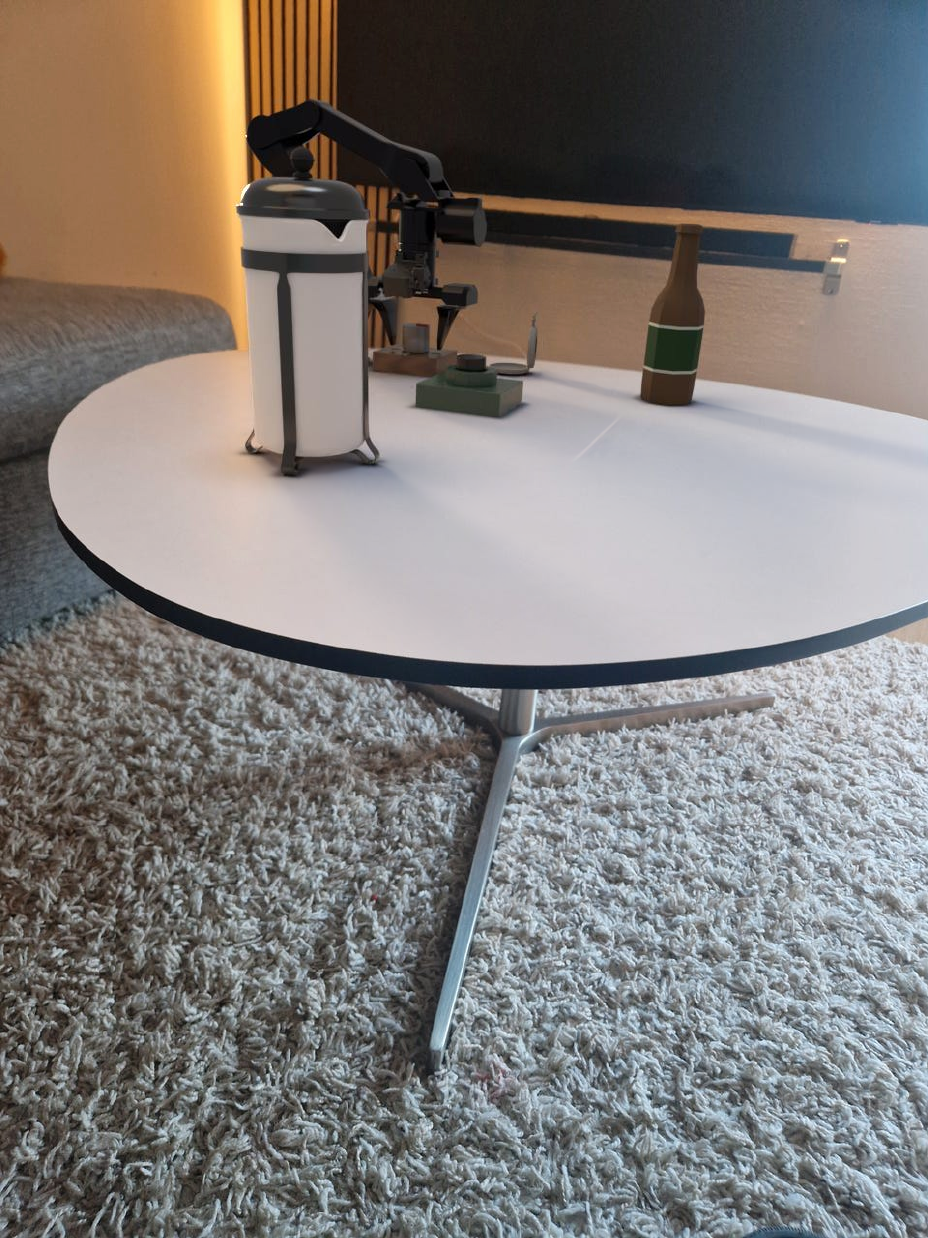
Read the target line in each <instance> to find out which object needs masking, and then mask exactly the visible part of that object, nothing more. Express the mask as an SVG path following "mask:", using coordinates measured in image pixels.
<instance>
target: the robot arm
mask: <svg viewBox="0 0 928 1238" xmlns="http://www.w3.org/2000/svg"><path fill="white" fill-rule="evenodd" d="M318 135H322V136H324V137H325V138H327V139H329V140H331V141H333V142H334V143H336V144H338V145H340V146H342V147H343V148H345V149H346V150H348V151H350V152H352V153H354V154H355V155H357V156H359V157H361V158H362V159H364V160H366V161H367V162H369V163H371V164H373V165H374V166H376V167H377V168H378V170H380V171H381V173H382V174H383V175H384V177H386V179H388V180H389V181H390V182H391V183H392V184H393V185H395V187H397V189H399V190H400V191H401V192H396V193H395V195H394V196H393V198H392V199H391V200H389V202H387V203H386V204H385V208H386V209H387V210H394V211H395V210H396V211H399V216H398V217H399V218H398V221H399V222H398V223H399V224H398V225H399V226H398V227H399V230H398V233H399V234H398V249H395V254H394V261H393V263H392V264H390V265H389V266H388V267H387V268H386V269H385V270H384V271H383V272H382V273H381V276H375V275H374V274H373V272H372V270H371V266H370V265H369V270H368V272H367V280H368V320H369V319H370V317H371V313H372V311H373V310H374V309H376V310H377V312H378V315H379V316H380V319H381V321H382V324H383V326H384V327H383V328H384V330H385V333H386V336H387V339H388V342H389V345H390V346H393V345H396V341H397V331H398V306H399V305H398V304H399V298H398V297H401V298H402V299H411V298H422V299H433V300H441V302H442V305H441V304H440V305H438V306H436V312H437V315H438V317H437V318H438V319H437V330H436V349H437V350H441V349H443V347H444V344H445V342H446V340H447V338H448V335H449V332H450V330H451V328H452V326H453V324H454V322H455V320H456V318H457V317H458V316H459V315H458V314H459V313H460V311H461V310H465V309H467V307H469V306H472V305H476V304H478V301H479V292H478V289H477V286H476V285H475V284H472V283H470V284H469V283H459V282H453V283H447V284H443V285H442V286H438V285H439V278H437V277H436V267H437V259H438V258H439V257H440V250H438V249H437V239H440V241H441V243H442V244H443V245H444V246H455V247H456V246H457V247H470V248H471V247H473V248H481V247H482V246H483V245H484V243H485V239H486V236H487V228H488V221H486V220H487V219H486V212H485V210H484V207H483V198H482V197H473V196H470V197H466V198H464V197H463V198H462V197H456V195H455V194H454V193H453V190H452V188H450V186H449V183H448V182H447V180H446V179H445V177H444V169H443V166H442V161H441V160H440V158H439V157H437V156H436V155H435V154H433V153H431V152H428V151H424V150H421V149H418V148H415V147H412V146H409V145H405V144H401V143H398V142H395V141H392V140H391V139H389V138H387V137H385V136H384V135H381V134H380V133H378V132H377V131H375V130H373V129H372V128H369V127H368V126H366V125H364V124H363V123H360V122H359V121H357V120H356V119H354V118H352V117H350V116H348V115H347V114H345V113H343V112H341V111H340V110H338V109H337V108H334V106H332V105H331V104H330V103H329V102H327V101H324V100H320V99H316V98H315V99H314V98H309V99H306V100H305V101H302V102H301V103H299V104H296V105H295V106H291V107H288V108H286V109H282V110H279V111H276V112H273V113H271V114H269V115H267V114H259V115H256V116H254V117H253V118H252V119H251V120H250V121H249V123H248V126H247V131H246V134H245V137H246V138H245V139H246V142H247V145H248V147H249V149H250V151H251V152H252V154H253V155H254V156H255V158H256V159H257V161H258V162H259V164H260V165H261V166H262V167H263V168H264V170H267V172H269V174H270V175H272V177H293V174H294V173H296V172H298V171H297V170H295V169H294V167H293V166H292V163H291V160H290V158H291V154H292V152H293V151H294V150H295V149H296V148H298V147H305V146H304V145H305V144H307V143H310V142H311V141H312V140H314V139H315V138H316V137H317V136H318ZM307 173H309V171H308V172H307ZM297 178H299V177H297ZM406 194H407V195H415V196H416V197H418V198H409V197H407V196H406ZM428 203H433V204H434V203H435V204H437V207H434V206H433V207H432V206H431V207H429V206H428ZM370 359H371V357H370V356H368V362H369V361H370Z"/></svg>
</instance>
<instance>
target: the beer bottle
mask: <svg viewBox="0 0 928 1238" xmlns="http://www.w3.org/2000/svg"><path fill="white" fill-rule="evenodd" d="M674 232H675V234H676V238H675V243H674V248H673V254H672V259H671V264H670V269H669V274H668V277H667V280H666V284H665V286H664V288H663V289H662V290H661V292H659V294H658V295H657V297H656V299H655V300H654V303H653V305H652V307H651V311H650V315H649V320H648V327H647V335H646V342H645V352H644V357H643V367H642V375H641V382H640V392H639V393H640V394H639V395H640V396H639V397H640V399H641V400H643V401H645V402H647V403H649V404H656V405H663V406H687V405H688V404H689V403H691V402H692V400H693V396H694V391H695V386H696V379H697V374H698V368H699V367H698V366H699V359H700V353H701V347H702V341H703V333H704V327H705V317H706V316H705V315H706V310H705V304H704V299H703V297H702V295H701V293H700V290H699V288H698V268H699V267H698V266H699V256H700V245H701V235H703V234H704V228H703V225H702V224H699V223H679V224H677V226H676V227H675V231H674Z"/></svg>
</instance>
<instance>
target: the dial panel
mask: <svg viewBox="0 0 928 1238" xmlns="http://www.w3.org/2000/svg"><path fill="white" fill-rule="evenodd" d="M457 355H458V350H454V349H444V348H442V349H441V350H437V347H436V348H435V347H430V351H429V352H427V353H409V352H404V351H403V350H402V344H398V343H395V345H393V346H392V345H390V346H387V347H384V348H380V349H378V350H374V351H372V371H373V372H379V373H380V372H381V373H390V374H399V375H408V376H415V377H417V376H418V377H426V378H431V377H433V376H436V375H438V374H440V373H443V372H445V367H447V366H450V365H457Z"/></svg>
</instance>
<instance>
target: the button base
mask: <svg viewBox="0 0 928 1238" xmlns="http://www.w3.org/2000/svg"><path fill="white" fill-rule="evenodd" d="M456 369H457V365H450V366H447V367H445V372H443V373H440V374H438V375H436V376H433V377H427V378H426V379H424V380H421V381H419V382H416V383H415V408H421V409H428V410H436V411H444V412H450V413H460V414H465V415H466V414H468V415H474V416H483V417H490V418H496V419H497V418H501V417H503V416H504V415H505V414H507V413H509V412H510V411H512V410H513V409H515V408H517V407H519V406H520V405H522V404H523V403H522V401H523V390H524V389H523V387H524V380H519V379H518V380H517V379H509V378H500V377H498V373H497V370H496V369H495V368H492V367H489V365H486V371H484V372H465V371H459V370H456Z"/></svg>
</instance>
